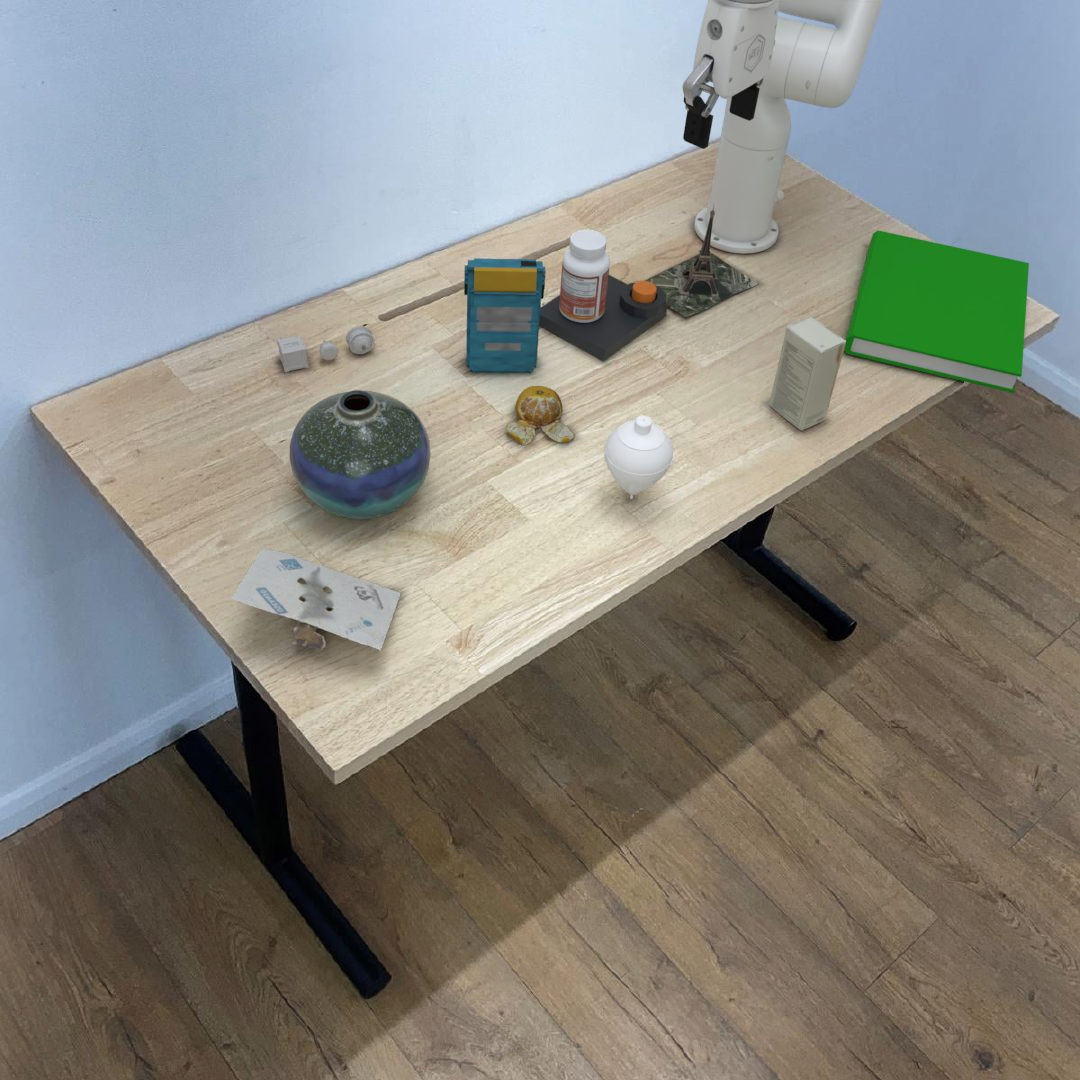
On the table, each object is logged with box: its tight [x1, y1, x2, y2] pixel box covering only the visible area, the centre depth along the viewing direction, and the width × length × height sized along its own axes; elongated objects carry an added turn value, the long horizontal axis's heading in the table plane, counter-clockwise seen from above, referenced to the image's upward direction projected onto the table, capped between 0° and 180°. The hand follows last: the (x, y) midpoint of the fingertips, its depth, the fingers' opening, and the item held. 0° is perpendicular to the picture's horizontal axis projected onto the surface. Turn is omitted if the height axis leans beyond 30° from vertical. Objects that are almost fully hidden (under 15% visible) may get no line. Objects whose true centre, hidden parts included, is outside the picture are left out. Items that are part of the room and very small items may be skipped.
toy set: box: [276, 325, 375, 374], centre depth 149 cm, size 12×3×4 cm
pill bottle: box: [559, 229, 611, 323], centre depth 153 cm, size 6×6×11 cm
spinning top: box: [603, 414, 674, 500], centre depth 131 cm, size 8×8×12 cm
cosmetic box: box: [768, 316, 846, 431], centre depth 143 cm, size 6×4×12 cm
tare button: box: [632, 280, 657, 303], centre depth 157 cm, size 3×3×2 cm
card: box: [230, 546, 402, 652], centre depth 119 cm, size 11×15×5 cm
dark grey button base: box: [539, 274, 669, 362], centre depth 158 cm, size 15×12×4 cm
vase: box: [289, 389, 432, 520], centre depth 128 cm, size 15×15×13 cm
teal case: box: [463, 257, 547, 374], centre depth 145 cm, size 10×4×15 cm, turn 93°
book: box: [844, 230, 1030, 394], centre depth 163 cm, size 22×28×3 cm
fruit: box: [505, 385, 576, 446], centre depth 142 cm, size 8×8×4 cm
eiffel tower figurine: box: [644, 206, 759, 318], centre depth 161 cm, size 15×10×13 cm
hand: (718, 129), depth 139 cm, fingers open, 9 cm apart
